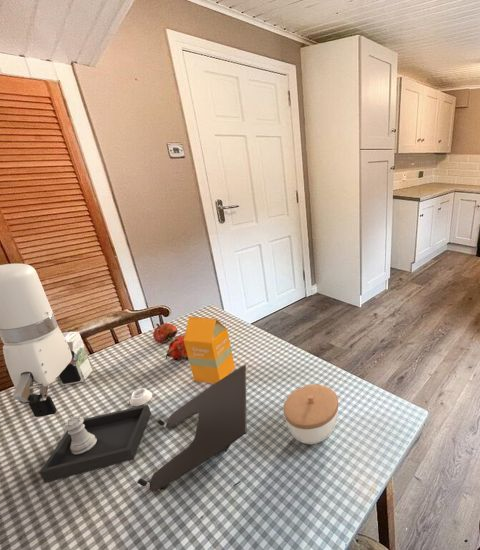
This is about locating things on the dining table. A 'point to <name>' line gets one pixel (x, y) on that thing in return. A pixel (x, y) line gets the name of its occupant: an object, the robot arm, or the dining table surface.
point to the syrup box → (79, 356)
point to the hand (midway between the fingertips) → (60, 397)
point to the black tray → (99, 444)
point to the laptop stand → (206, 427)
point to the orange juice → (208, 349)
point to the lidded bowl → (311, 413)
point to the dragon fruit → (177, 349)
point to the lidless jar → (140, 397)
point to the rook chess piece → (79, 436)
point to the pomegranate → (164, 332)
